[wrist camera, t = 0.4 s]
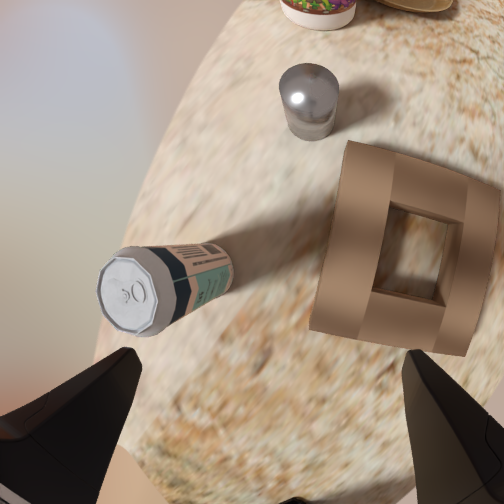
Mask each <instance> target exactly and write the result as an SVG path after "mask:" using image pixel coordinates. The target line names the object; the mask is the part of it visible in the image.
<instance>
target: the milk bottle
mask: <svg viewBox="0 0 504 504" xmlns="http://www.w3.org/2000/svg"><path fill="white" fill-rule="evenodd" d="M280 2H281V6H282V10H283V12H284V14H285V15H286V17H287V18H288V19H290V20H291V21H292V22H293V23H295V24H297V25H299V26H301V27H304V28H308V29H312V30H324V31H325V30H333V29H338V28H341V27H343V26H345V25H346V24H348V23H349V22H350V21H351V20H352V19H353V17H354V14H355V8H356V0H280Z"/></svg>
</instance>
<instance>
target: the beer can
mask: <svg viewBox="0 0 504 504" xmlns="http://www.w3.org/2000/svg"><path fill="white" fill-rule="evenodd" d="M233 276H234V269H233V264H232V261H231V259H230V257H229V255H228V254H227V253H226V251H225V250H223V249H222V248H221V247H219V246H217V245H215V244H211V243H201V244H186V245H166V246H147V247H139V246H130V247H126V248H123V249H121V250H119V251H117V252H116V253H114V255H113V256H112V257H111V258H110V259H109V261H108V262H107V263H106V264H105V265H104V266H103V267H102V268H101V269H100V272H99V277H98V282H97V287H96V295H97V298H98V302H99V305H100V309H101V312H102V315H103V316H104V317H105V318H106V319H107V320H108V321H109V322H110V323H111V325H112V326H113V327H114V328H115V329H116V330H117V331H121V332H125V333H128V334H131V335H134V336H137V337H150V336H154V335H157V334H158V333H160V332H162V331H163V330H164V329H165V328H166V327H167V326H169V325H171V324H172V323H174V322H176V321H178V320H179V319H181V318H183V317H184V316H186V315H188V314H189V313H191V312H193V311H195V310H196V309H198V308H200V307H201V306H203V305H205V304H206V303H208V302H210V301H211V300H213V299H215V298H218V297H220V296H221V295H223V294H224V293H225V292H226V291H227V290H228V289H229V288H230V286H231V283H232V281H233Z"/></svg>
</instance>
